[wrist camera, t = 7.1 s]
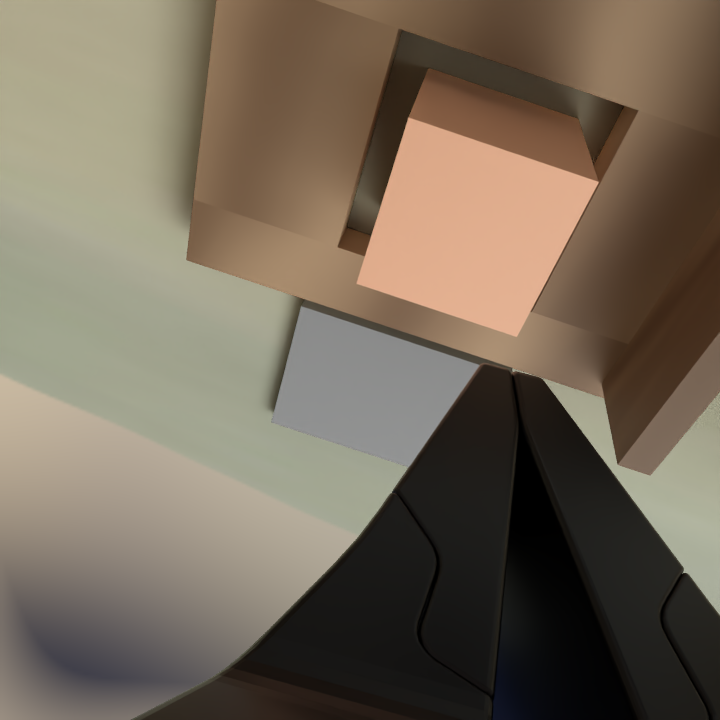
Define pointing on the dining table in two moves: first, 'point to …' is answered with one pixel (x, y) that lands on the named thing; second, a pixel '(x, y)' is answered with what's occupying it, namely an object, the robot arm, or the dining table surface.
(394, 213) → the terracotta block
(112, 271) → the dining table surface
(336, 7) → the walnut board
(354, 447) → the grey pad
